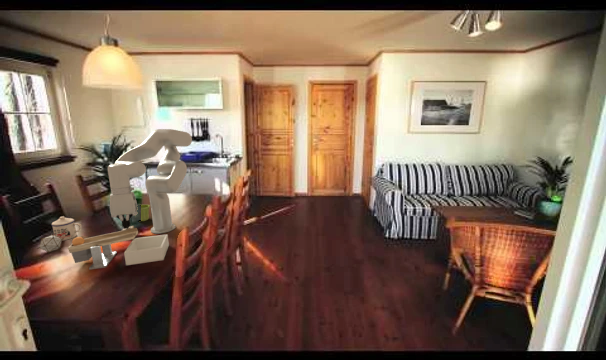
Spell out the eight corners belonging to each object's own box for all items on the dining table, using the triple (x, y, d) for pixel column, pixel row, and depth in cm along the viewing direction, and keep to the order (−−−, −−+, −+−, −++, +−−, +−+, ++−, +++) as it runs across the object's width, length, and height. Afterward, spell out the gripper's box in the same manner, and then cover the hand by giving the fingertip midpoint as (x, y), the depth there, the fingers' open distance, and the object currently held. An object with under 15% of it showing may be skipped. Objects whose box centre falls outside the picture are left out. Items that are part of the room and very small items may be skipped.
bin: (135, 249, 128) (133, 238, 126) (168, 245, 132) (167, 234, 131) (126, 265, 114) (124, 252, 113) (163, 259, 118) (161, 247, 117)
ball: (77, 245, 115) (72, 237, 114) (87, 241, 116) (83, 233, 115) (73, 249, 111) (68, 241, 110) (83, 245, 112) (78, 237, 111)
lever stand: (101, 254, 123) (98, 236, 121) (116, 252, 125) (113, 234, 122) (89, 269, 111) (85, 249, 109) (106, 267, 113) (102, 247, 110)
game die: (49, 260, 125) (26, 249, 119) (57, 246, 132) (37, 235, 126) (64, 251, 125) (42, 239, 119) (72, 238, 132) (52, 226, 125)
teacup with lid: (51, 242, 135) (46, 221, 132) (60, 235, 144) (56, 215, 141) (79, 239, 139) (74, 218, 136) (86, 232, 147) (83, 212, 145)
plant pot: (130, 221, 163) (128, 207, 161) (145, 216, 171) (143, 203, 169) (139, 223, 159) (137, 210, 157) (154, 218, 167) (152, 205, 165)
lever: (90, 246, 126) (84, 232, 124) (145, 234, 132) (141, 221, 130) (73, 264, 111) (67, 248, 109) (136, 249, 117) (131, 234, 115)
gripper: (141, 187, 128) (146, 223, 132) (105, 189, 123) (111, 226, 127) (137, 191, 121) (142, 228, 125) (98, 194, 116) (105, 232, 120)
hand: (126, 227), depth 126 cm, fingers closed
